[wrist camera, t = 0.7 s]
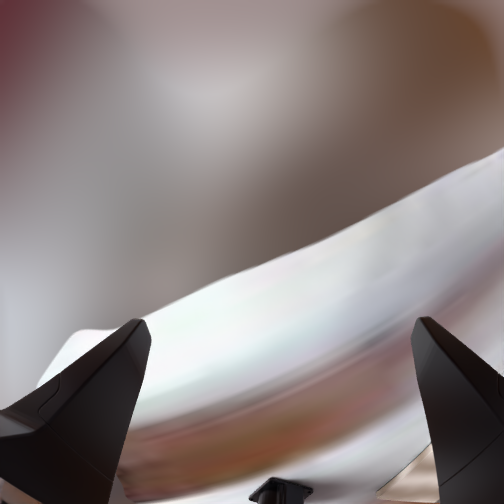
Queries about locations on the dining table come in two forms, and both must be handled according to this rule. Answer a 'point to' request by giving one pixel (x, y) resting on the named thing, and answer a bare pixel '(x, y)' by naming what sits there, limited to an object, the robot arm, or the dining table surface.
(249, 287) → the dining table surface
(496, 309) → the dining table surface
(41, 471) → the robot arm
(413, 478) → the cream and grey cloth
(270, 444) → the dining table surface
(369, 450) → the dining table surface
